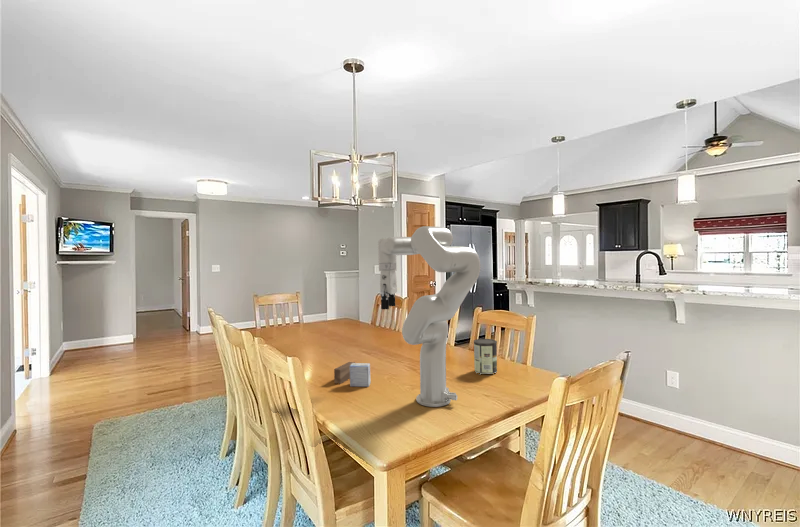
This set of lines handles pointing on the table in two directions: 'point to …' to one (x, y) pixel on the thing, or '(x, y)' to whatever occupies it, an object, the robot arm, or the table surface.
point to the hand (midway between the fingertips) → (388, 307)
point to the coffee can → (485, 356)
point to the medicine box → (360, 374)
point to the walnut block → (342, 373)
